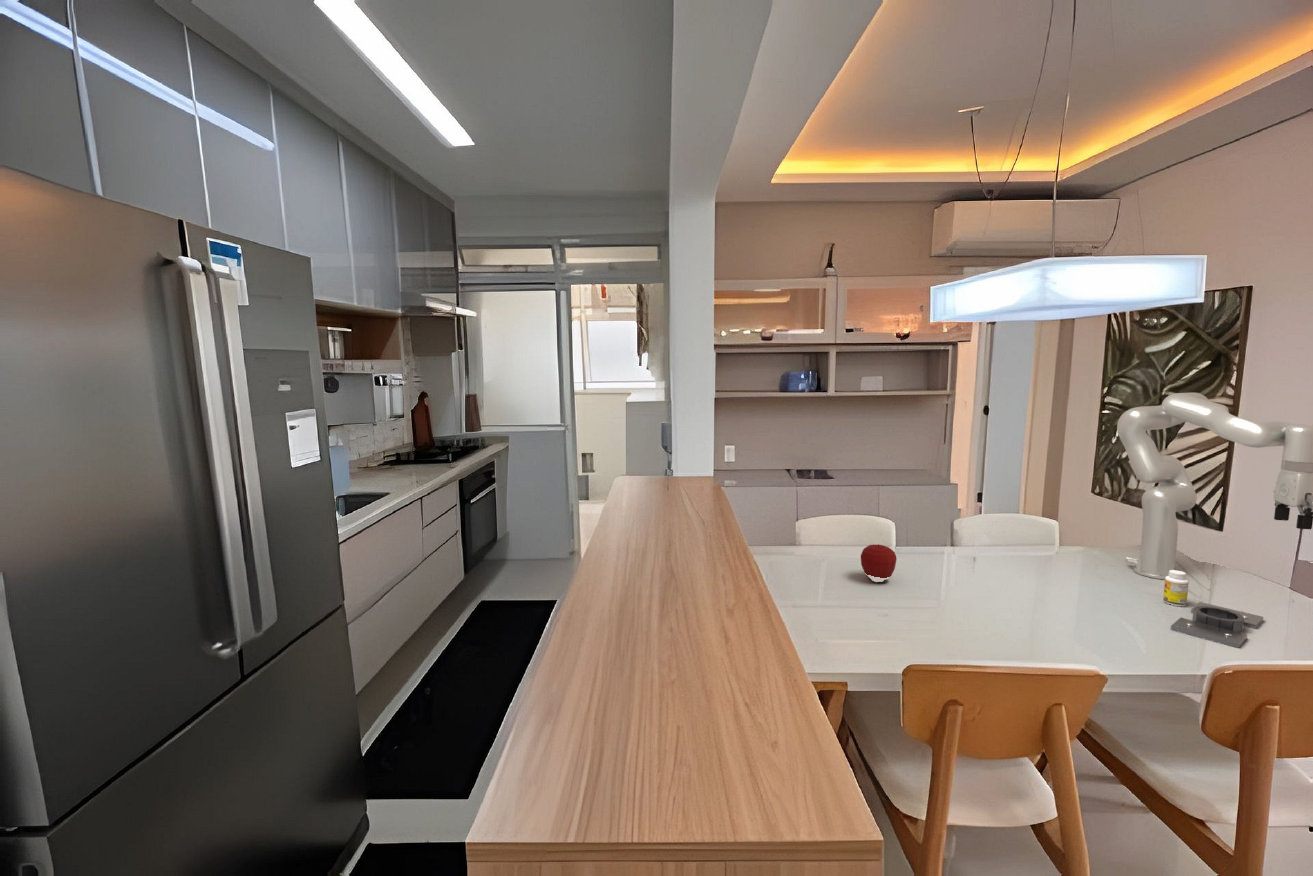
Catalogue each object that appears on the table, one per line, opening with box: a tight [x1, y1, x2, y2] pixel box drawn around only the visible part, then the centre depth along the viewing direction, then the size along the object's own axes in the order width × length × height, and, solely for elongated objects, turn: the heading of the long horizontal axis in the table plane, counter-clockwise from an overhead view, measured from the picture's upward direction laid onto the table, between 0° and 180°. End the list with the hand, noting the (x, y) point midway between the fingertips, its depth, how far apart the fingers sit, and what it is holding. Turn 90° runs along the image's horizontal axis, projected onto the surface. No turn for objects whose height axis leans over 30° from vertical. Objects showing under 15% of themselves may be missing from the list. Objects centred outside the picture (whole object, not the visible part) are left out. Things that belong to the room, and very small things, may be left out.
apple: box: [860, 543, 898, 578], centre depth 210 cm, size 12×12×13 cm
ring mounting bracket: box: [1170, 601, 1264, 649], centre depth 171 cm, size 28×14×4 cm, turn 126°
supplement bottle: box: [1163, 569, 1190, 608], centre depth 186 cm, size 6×6×10 cm
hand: (1292, 524), depth 177 cm, fingers open, 9 cm apart
